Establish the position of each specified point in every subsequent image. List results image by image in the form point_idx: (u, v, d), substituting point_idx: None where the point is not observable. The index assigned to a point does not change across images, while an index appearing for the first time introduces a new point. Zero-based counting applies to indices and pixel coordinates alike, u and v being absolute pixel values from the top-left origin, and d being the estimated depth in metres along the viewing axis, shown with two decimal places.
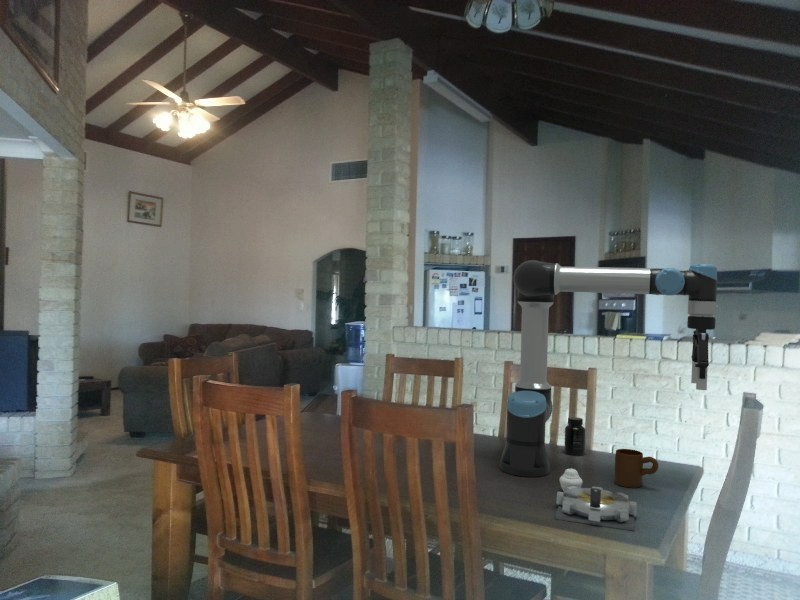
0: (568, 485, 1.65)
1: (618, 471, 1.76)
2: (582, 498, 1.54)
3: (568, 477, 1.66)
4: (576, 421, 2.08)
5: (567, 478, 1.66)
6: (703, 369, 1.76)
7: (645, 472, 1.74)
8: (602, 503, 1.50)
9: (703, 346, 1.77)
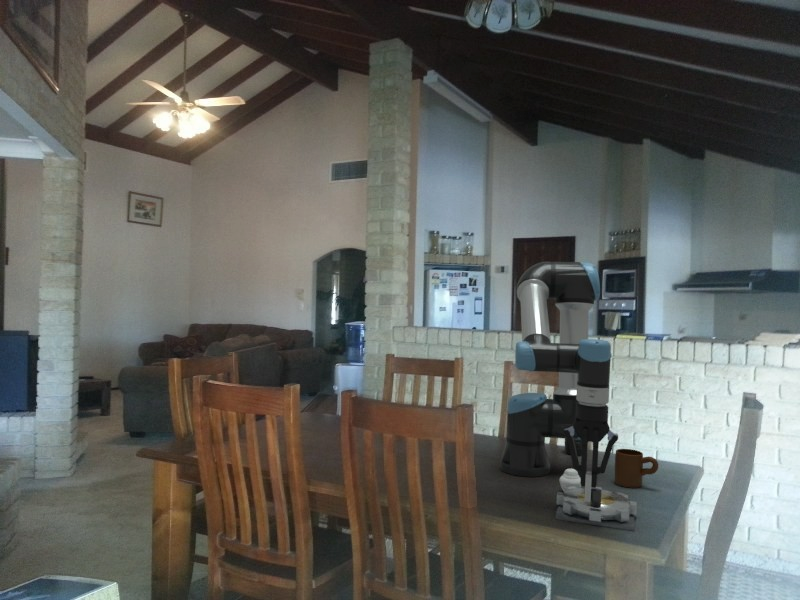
0: (568, 485, 1.65)
1: (618, 471, 1.76)
2: (582, 498, 1.53)
3: (568, 477, 1.66)
4: None
5: (567, 478, 1.66)
6: None
7: (645, 472, 1.74)
8: (602, 503, 1.50)
9: None
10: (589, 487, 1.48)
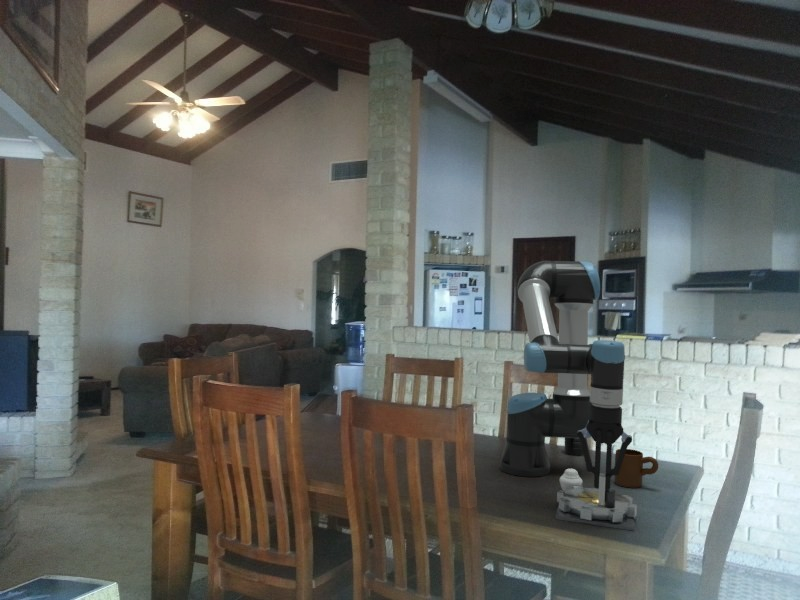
0: (568, 485, 1.65)
1: None
2: (588, 501, 1.52)
3: (568, 477, 1.66)
4: None
5: (567, 478, 1.66)
6: None
7: (645, 472, 1.74)
8: None
9: None
10: (603, 489, 1.47)
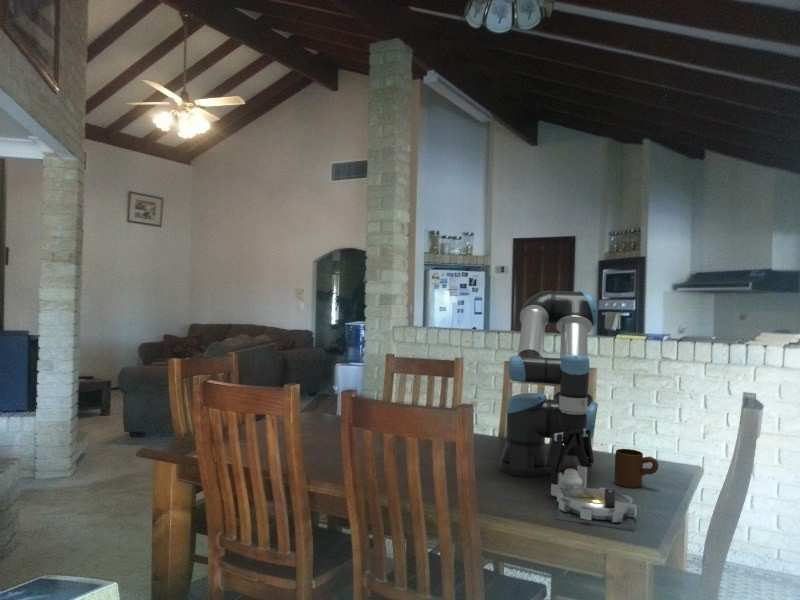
0: (568, 485, 1.65)
1: (618, 471, 1.76)
2: (588, 501, 1.52)
3: (568, 477, 1.66)
4: None
5: (567, 478, 1.66)
6: (553, 474, 1.63)
7: (645, 472, 1.74)
8: None
9: (553, 448, 1.63)
10: (585, 478, 1.70)
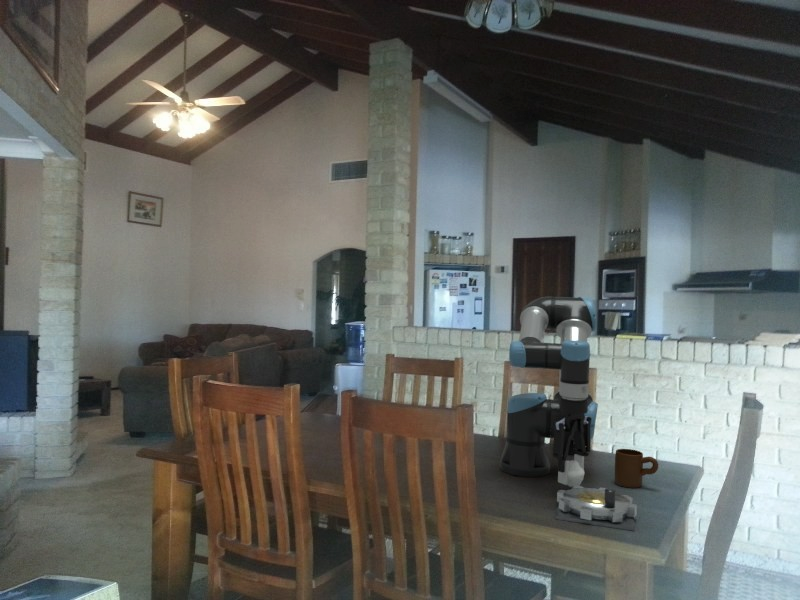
0: (571, 478, 1.65)
1: (618, 471, 1.76)
2: (588, 501, 1.52)
3: (570, 470, 1.66)
4: None
5: (569, 471, 1.66)
6: (560, 462, 1.65)
7: (645, 472, 1.74)
8: None
9: (557, 437, 1.64)
10: (583, 467, 1.70)
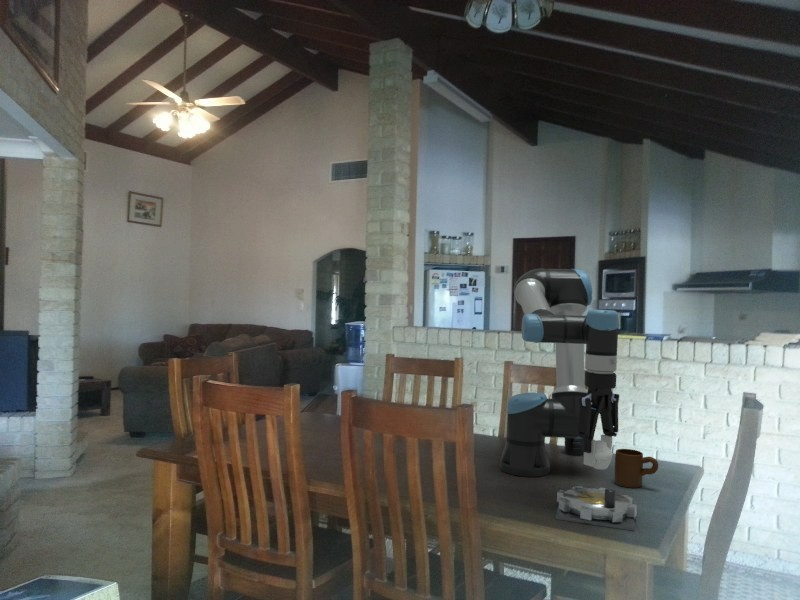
0: (598, 459, 1.51)
1: (618, 471, 1.76)
2: (588, 501, 1.52)
3: (597, 450, 1.52)
4: None
5: (596, 451, 1.52)
6: (586, 441, 1.51)
7: (645, 472, 1.74)
8: None
9: (583, 414, 1.50)
10: (610, 448, 1.55)
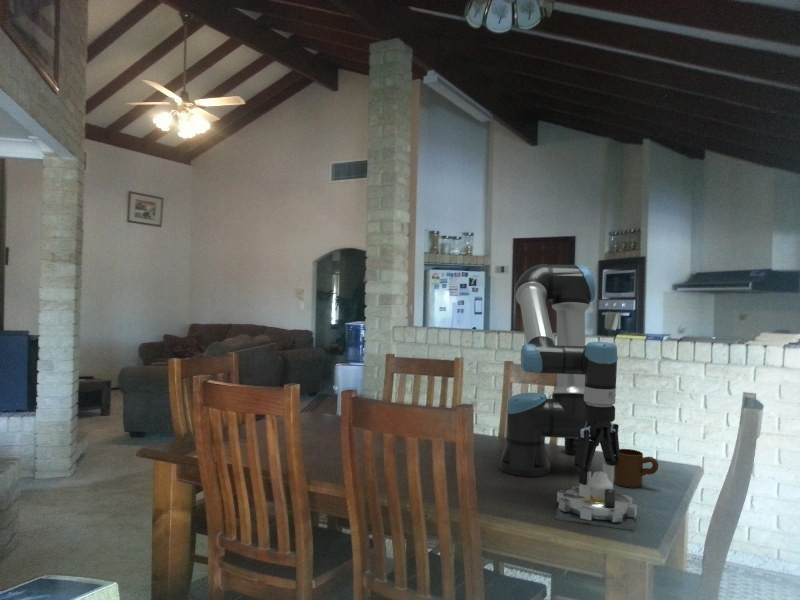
0: (598, 489, 1.51)
1: (618, 471, 1.76)
2: (588, 501, 1.52)
3: (597, 481, 1.52)
4: None
5: (597, 482, 1.52)
6: (582, 473, 1.50)
7: (645, 472, 1.74)
8: None
9: (581, 446, 1.50)
10: (612, 478, 1.56)
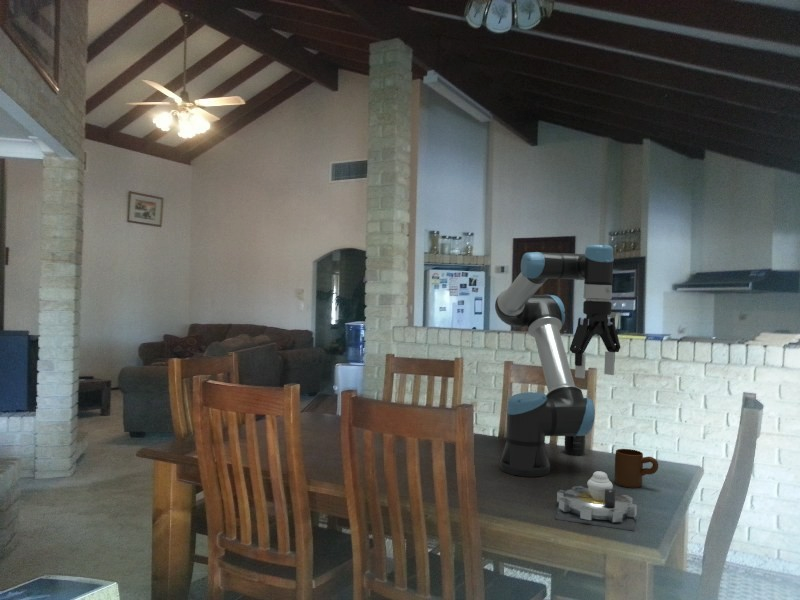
0: (598, 489, 1.51)
1: (618, 471, 1.76)
2: (588, 501, 1.52)
3: (597, 481, 1.52)
4: None
5: (597, 482, 1.52)
6: (577, 355, 1.67)
7: (645, 472, 1.74)
8: None
9: (579, 331, 1.67)
10: (613, 363, 1.75)
